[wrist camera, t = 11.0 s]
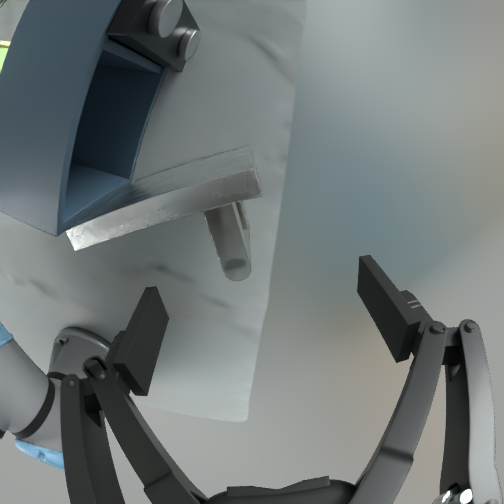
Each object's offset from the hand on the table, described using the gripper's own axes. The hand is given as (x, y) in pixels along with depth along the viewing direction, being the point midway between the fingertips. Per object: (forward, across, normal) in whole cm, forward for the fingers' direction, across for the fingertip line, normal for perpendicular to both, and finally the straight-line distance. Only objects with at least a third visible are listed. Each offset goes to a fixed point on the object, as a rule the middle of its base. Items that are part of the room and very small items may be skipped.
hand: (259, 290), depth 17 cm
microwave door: (+14, -5, +3) cm, 15 cm away
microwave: (+14, -11, +16) cm, 23 cm away
